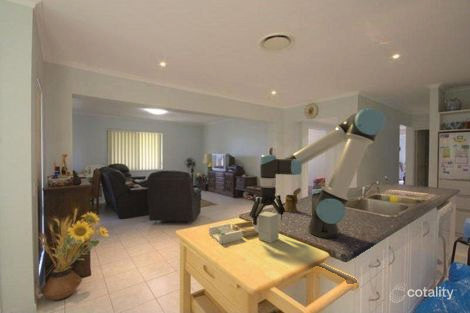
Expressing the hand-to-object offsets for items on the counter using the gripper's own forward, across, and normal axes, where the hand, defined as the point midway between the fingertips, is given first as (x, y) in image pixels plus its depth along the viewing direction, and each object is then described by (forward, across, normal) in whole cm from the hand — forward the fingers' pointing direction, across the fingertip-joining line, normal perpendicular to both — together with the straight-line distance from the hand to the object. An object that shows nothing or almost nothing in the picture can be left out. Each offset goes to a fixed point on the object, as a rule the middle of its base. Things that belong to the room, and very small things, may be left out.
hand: (267, 228), depth 111 cm
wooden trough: (+5, +3, -14) cm, 15 cm away
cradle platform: (+2, +17, -14) cm, 22 cm away
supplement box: (+5, 0, 0) cm, 5 cm away
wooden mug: (+5, -45, -31) cm, 55 cm away
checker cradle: (+5, +17, -14) cm, 22 cm away
